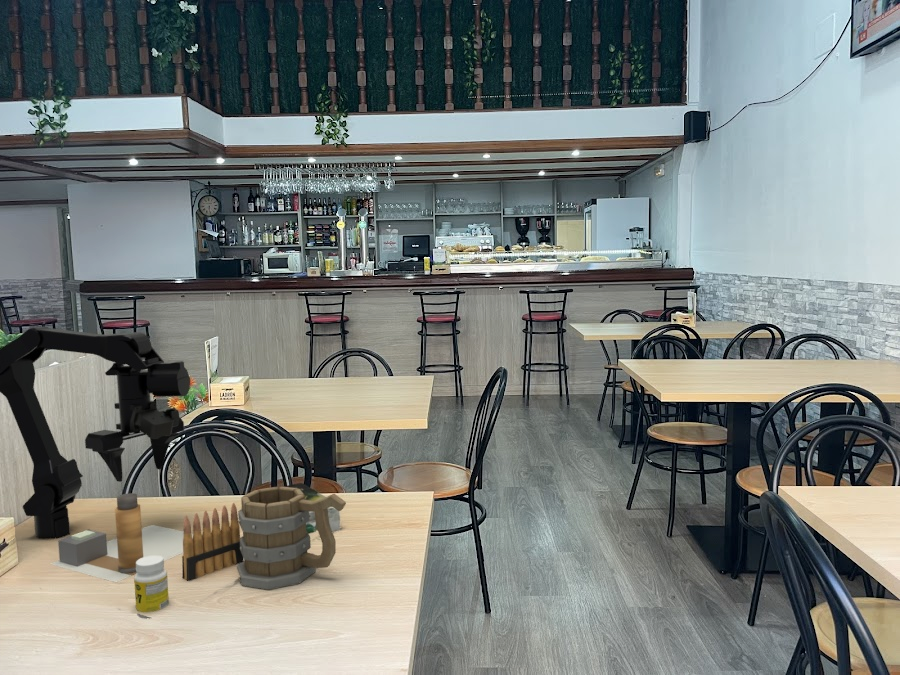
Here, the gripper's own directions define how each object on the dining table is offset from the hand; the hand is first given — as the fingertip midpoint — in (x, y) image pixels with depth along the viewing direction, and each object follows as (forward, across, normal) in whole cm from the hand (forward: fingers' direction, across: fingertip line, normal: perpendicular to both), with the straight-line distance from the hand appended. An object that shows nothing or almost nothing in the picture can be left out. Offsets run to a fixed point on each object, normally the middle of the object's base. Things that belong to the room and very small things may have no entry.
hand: (139, 475), depth 142 cm
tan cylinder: (+12, -13, -13) cm, 22 cm away
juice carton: (+14, +21, -22) cm, 34 cm away
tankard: (+14, -1, -39) cm, 41 cm away
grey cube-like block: (+12, -14, -1) cm, 18 cm away
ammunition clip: (+13, -7, -26) cm, 30 cm away
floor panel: (+13, -7, -6) cm, 16 cm away
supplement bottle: (+13, -21, -28) cm, 37 cm away
